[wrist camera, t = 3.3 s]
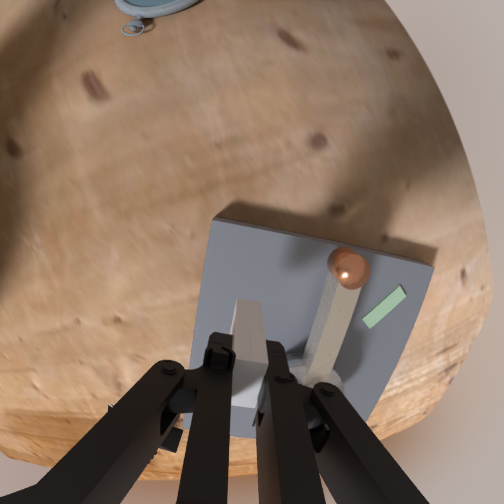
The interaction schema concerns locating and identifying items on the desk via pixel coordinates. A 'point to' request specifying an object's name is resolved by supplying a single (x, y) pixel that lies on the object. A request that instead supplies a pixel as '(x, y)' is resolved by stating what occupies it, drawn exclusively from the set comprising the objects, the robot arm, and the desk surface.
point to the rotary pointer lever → (331, 319)
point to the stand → (307, 304)
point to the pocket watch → (149, 10)
